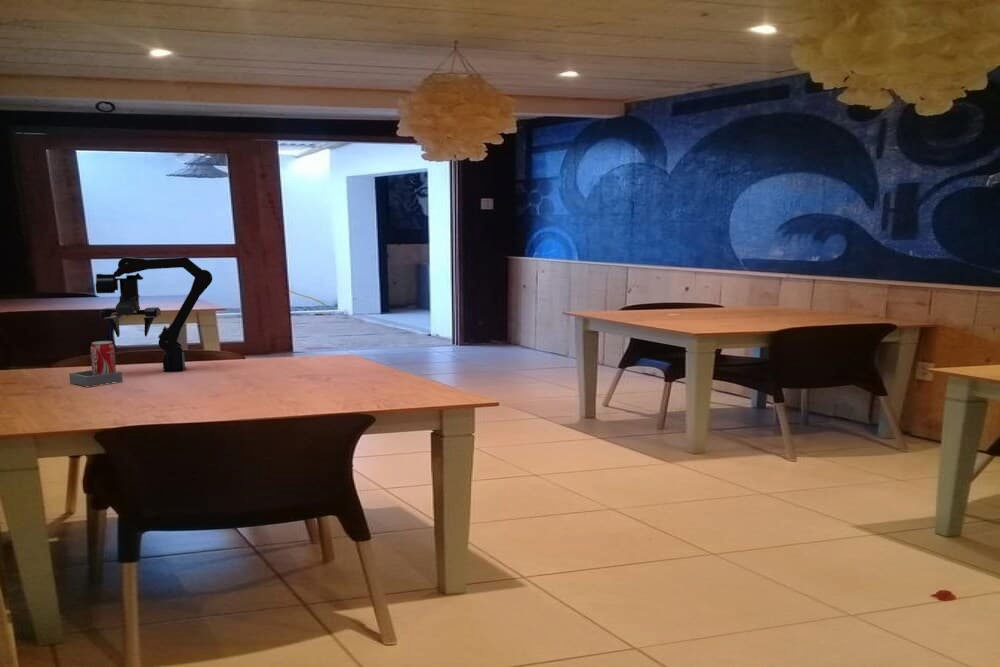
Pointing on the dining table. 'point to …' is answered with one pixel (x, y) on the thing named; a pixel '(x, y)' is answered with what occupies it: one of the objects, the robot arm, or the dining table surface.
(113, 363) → the soda can
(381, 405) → the dining table surface
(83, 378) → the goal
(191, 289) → the robot arm
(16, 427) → the dining table surface
